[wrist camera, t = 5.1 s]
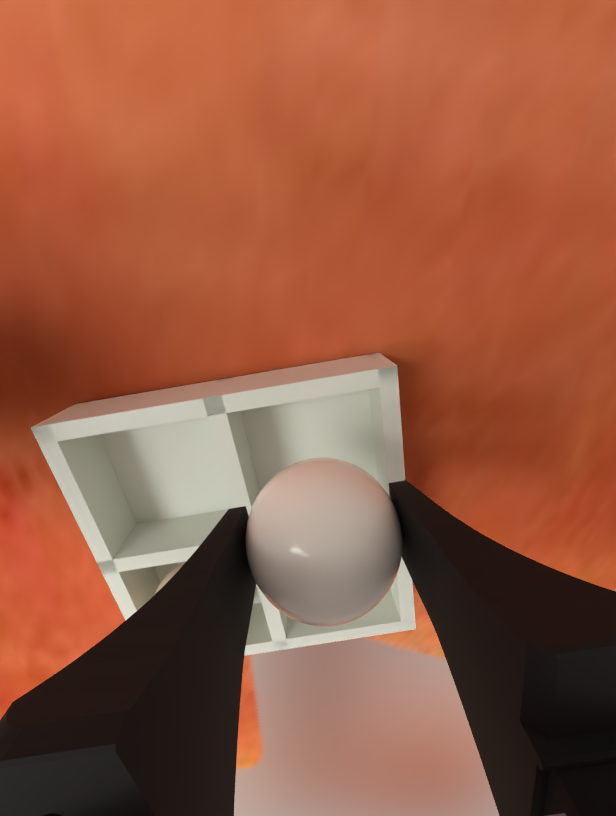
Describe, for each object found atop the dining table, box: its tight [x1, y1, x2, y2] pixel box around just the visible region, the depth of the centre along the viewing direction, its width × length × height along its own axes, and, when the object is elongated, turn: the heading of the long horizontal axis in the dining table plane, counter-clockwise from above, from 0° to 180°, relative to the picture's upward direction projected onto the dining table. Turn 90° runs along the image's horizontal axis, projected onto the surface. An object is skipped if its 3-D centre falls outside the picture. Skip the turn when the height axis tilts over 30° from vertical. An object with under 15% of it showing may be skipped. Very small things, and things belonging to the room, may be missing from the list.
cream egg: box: [245, 458, 402, 626], centre depth 11 cm, size 5×5×5 cm
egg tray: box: [30, 353, 416, 656], centre depth 18 cm, size 15×15×3 cm
